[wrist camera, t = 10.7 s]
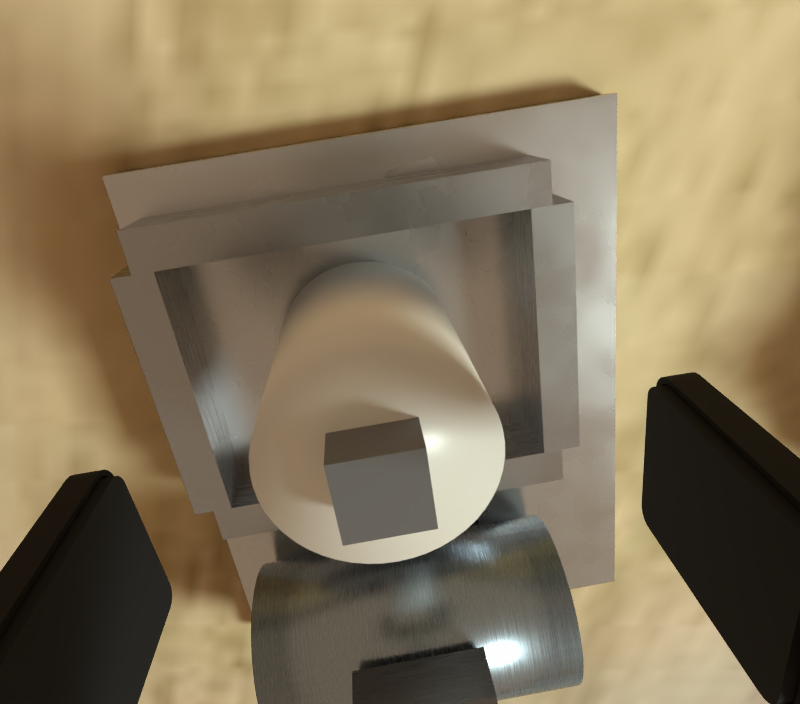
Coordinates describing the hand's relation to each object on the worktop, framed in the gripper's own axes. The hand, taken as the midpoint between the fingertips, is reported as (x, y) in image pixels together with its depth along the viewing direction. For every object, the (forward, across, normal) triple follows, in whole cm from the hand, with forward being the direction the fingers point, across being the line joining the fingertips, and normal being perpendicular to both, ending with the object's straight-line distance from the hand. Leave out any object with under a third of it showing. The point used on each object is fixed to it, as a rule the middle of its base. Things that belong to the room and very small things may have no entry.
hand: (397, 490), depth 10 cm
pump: (+9, 0, +1) cm, 9 cm away
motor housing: (+10, 0, +4) cm, 11 cm away
